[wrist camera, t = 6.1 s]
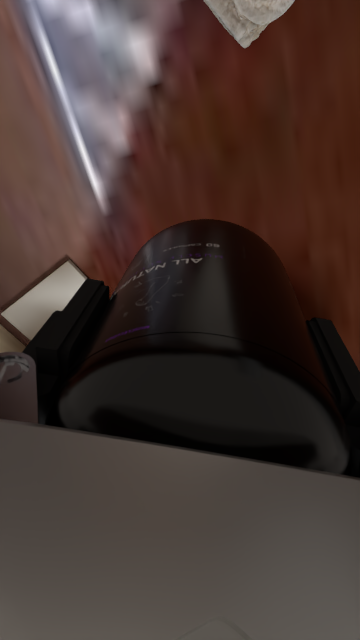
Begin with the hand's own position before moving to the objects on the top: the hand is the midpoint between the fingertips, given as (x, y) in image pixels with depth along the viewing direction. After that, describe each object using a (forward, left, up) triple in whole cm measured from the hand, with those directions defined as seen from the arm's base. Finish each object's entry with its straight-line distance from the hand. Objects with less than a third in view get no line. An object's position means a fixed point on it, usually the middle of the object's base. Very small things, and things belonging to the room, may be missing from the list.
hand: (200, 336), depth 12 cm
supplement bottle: (0, 0, -3) cm, 3 cm away
